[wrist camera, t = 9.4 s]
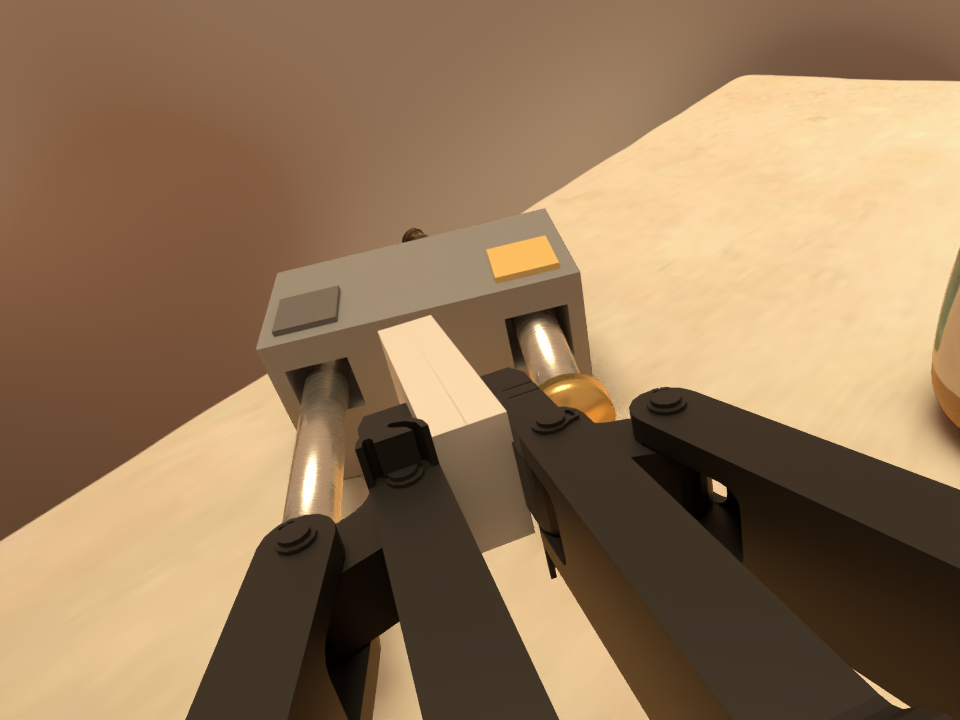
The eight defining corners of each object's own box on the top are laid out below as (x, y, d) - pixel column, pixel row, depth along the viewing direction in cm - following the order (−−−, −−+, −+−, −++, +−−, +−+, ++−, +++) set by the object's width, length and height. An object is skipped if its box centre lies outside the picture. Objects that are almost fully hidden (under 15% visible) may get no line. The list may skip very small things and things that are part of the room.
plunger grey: (269, 662, 29) (225, 604, 26) (310, 386, 45) (285, 334, 42) (368, 638, 29) (334, 579, 26) (372, 371, 45) (352, 318, 42)
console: (323, 484, 45) (253, 344, 38) (332, 397, 53) (275, 268, 46) (597, 419, 45) (579, 266, 38) (564, 341, 53) (544, 203, 46)
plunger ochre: (536, 464, 35) (523, 401, 32) (486, 286, 51) (475, 235, 49) (618, 444, 35) (612, 380, 32) (541, 273, 51) (533, 221, 49)
